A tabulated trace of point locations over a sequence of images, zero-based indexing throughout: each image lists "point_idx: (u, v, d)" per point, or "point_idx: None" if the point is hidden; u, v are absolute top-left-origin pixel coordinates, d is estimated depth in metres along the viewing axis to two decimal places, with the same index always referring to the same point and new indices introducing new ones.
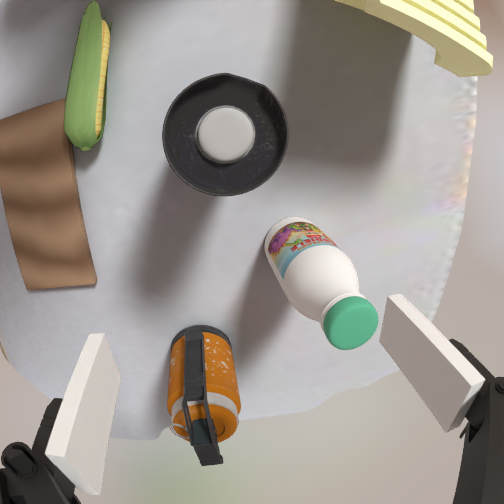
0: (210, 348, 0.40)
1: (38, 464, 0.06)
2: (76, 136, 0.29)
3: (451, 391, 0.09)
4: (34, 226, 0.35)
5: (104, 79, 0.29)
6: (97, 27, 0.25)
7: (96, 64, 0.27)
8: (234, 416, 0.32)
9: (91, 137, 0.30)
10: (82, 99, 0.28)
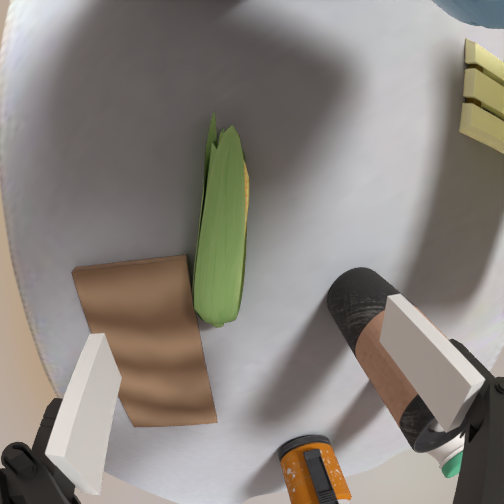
0: (325, 460, 0.39)
1: (38, 464, 0.06)
2: (214, 319, 0.29)
3: (451, 391, 0.09)
4: (148, 382, 0.35)
5: None
6: (239, 175, 0.25)
7: (239, 232, 0.27)
8: None
9: (231, 318, 0.30)
10: (223, 280, 0.27)
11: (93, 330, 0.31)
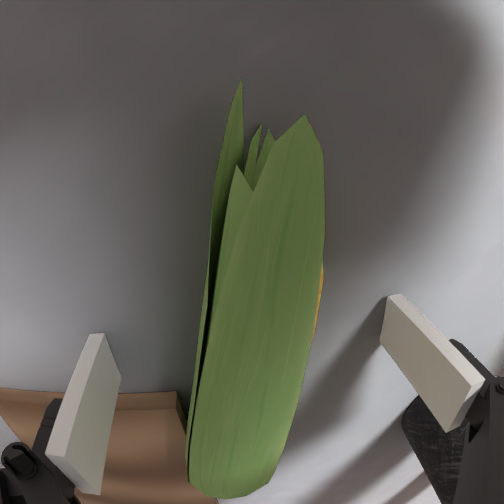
0: None
1: (38, 464, 0.06)
2: None
3: (451, 391, 0.09)
4: None
5: None
6: (311, 266, 0.09)
7: (292, 388, 0.11)
8: None
9: None
10: (249, 464, 0.11)
11: None
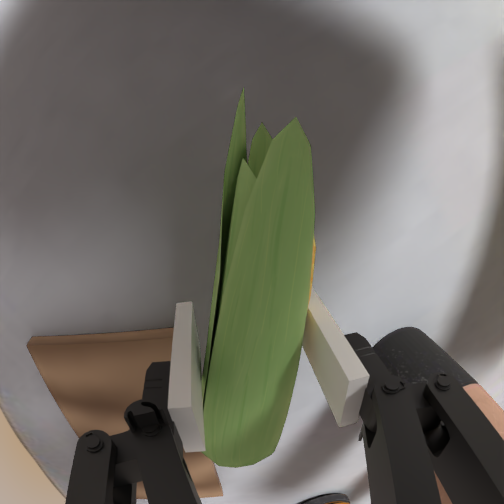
0: None
1: (163, 424, 0.08)
2: None
3: (337, 384, 0.10)
4: None
5: None
6: (304, 238, 0.11)
7: (293, 350, 0.13)
8: None
9: (262, 458, 0.16)
10: (257, 426, 0.13)
11: (64, 410, 0.21)
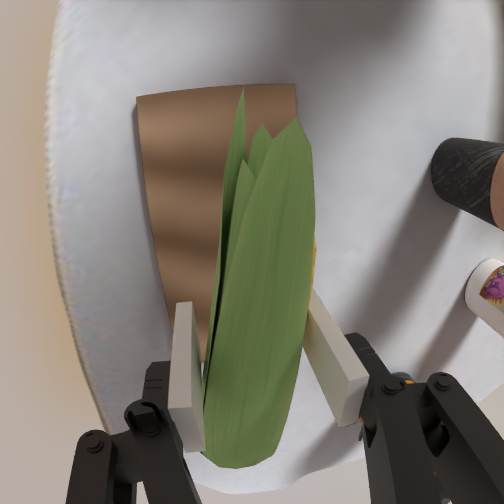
0: None
1: (163, 424, 0.08)
2: None
3: (337, 384, 0.10)
4: None
5: None
6: (304, 239, 0.11)
7: (294, 351, 0.13)
8: None
9: (263, 459, 0.16)
10: (257, 428, 0.13)
11: (149, 186, 0.23)
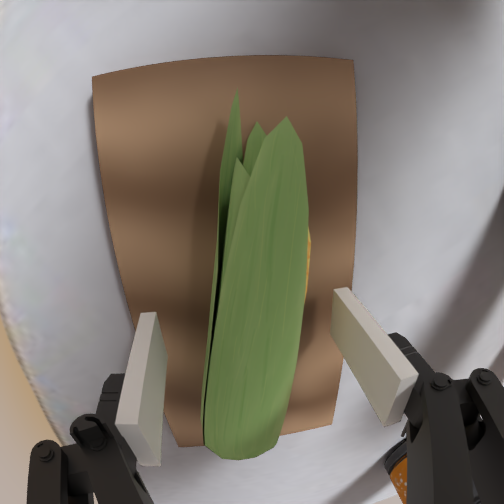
0: None
1: (109, 438, 0.08)
2: (238, 459, 0.15)
3: (385, 384, 0.10)
4: None
5: None
6: (298, 234, 0.11)
7: (291, 343, 0.13)
8: None
9: (265, 451, 0.16)
10: (257, 418, 0.14)
11: (115, 225, 0.14)
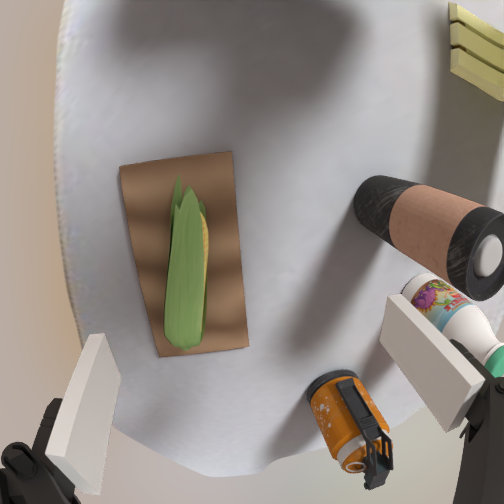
0: (358, 391, 0.41)
1: (38, 464, 0.06)
2: (180, 345, 0.34)
3: (451, 391, 0.09)
4: None
5: (204, 284, 0.34)
6: (197, 230, 0.31)
7: (199, 276, 0.32)
8: (392, 444, 0.34)
9: (195, 344, 0.35)
10: (187, 314, 0.33)
11: (131, 230, 0.33)
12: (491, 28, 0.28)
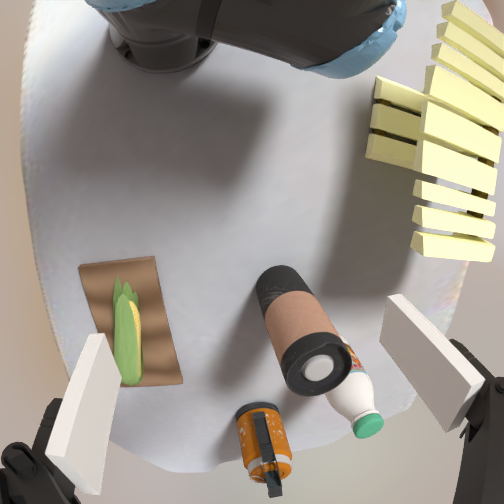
0: (270, 421, 0.53)
1: (38, 464, 0.06)
2: (126, 383, 0.46)
3: (451, 391, 0.09)
4: None
5: (140, 346, 0.46)
6: (130, 317, 0.42)
7: (134, 344, 0.44)
8: (290, 466, 0.46)
9: (136, 383, 0.47)
10: (128, 366, 0.44)
11: (92, 308, 0.45)
12: (425, 99, 0.39)
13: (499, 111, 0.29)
